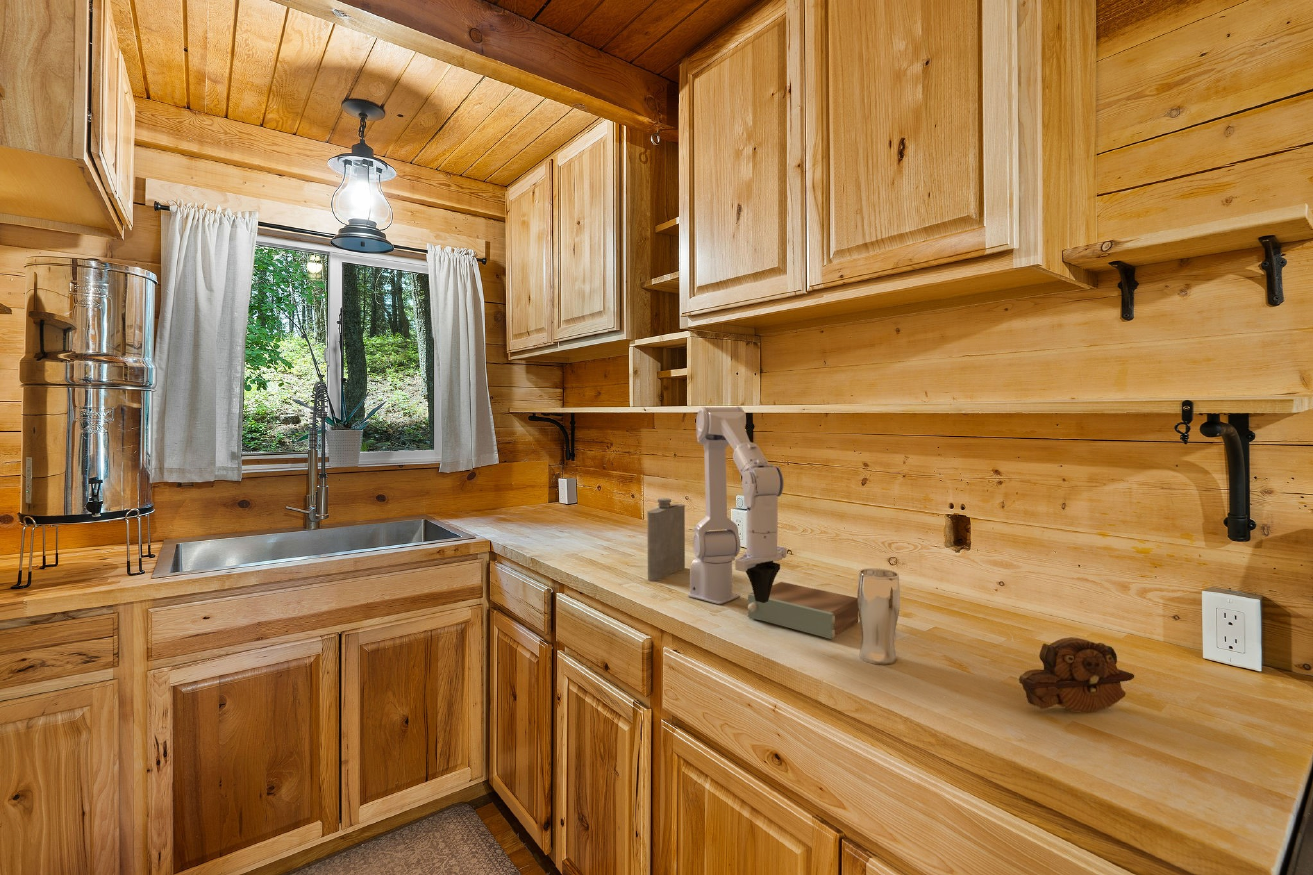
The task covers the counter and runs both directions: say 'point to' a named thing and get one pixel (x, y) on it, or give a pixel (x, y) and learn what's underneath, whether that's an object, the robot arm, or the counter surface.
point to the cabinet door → (793, 616)
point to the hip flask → (665, 539)
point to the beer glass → (878, 614)
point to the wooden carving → (1075, 676)
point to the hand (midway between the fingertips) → (761, 601)
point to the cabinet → (820, 602)
